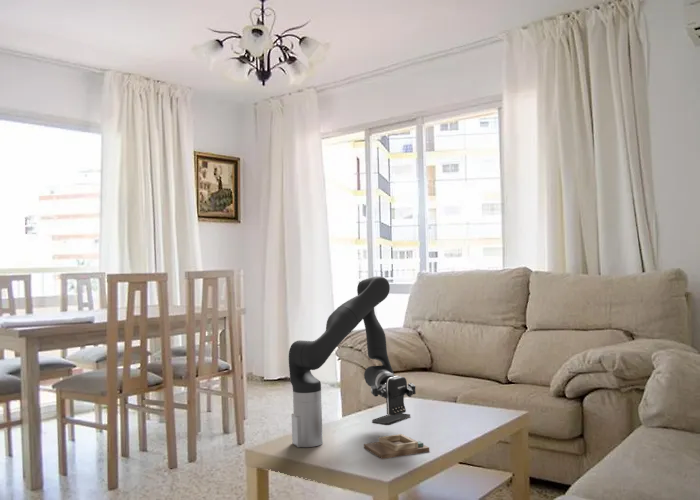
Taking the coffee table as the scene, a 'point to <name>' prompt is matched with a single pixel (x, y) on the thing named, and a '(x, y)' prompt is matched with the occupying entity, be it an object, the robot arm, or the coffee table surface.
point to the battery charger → (396, 395)
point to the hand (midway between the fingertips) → (398, 394)
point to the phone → (390, 419)
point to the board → (395, 446)
